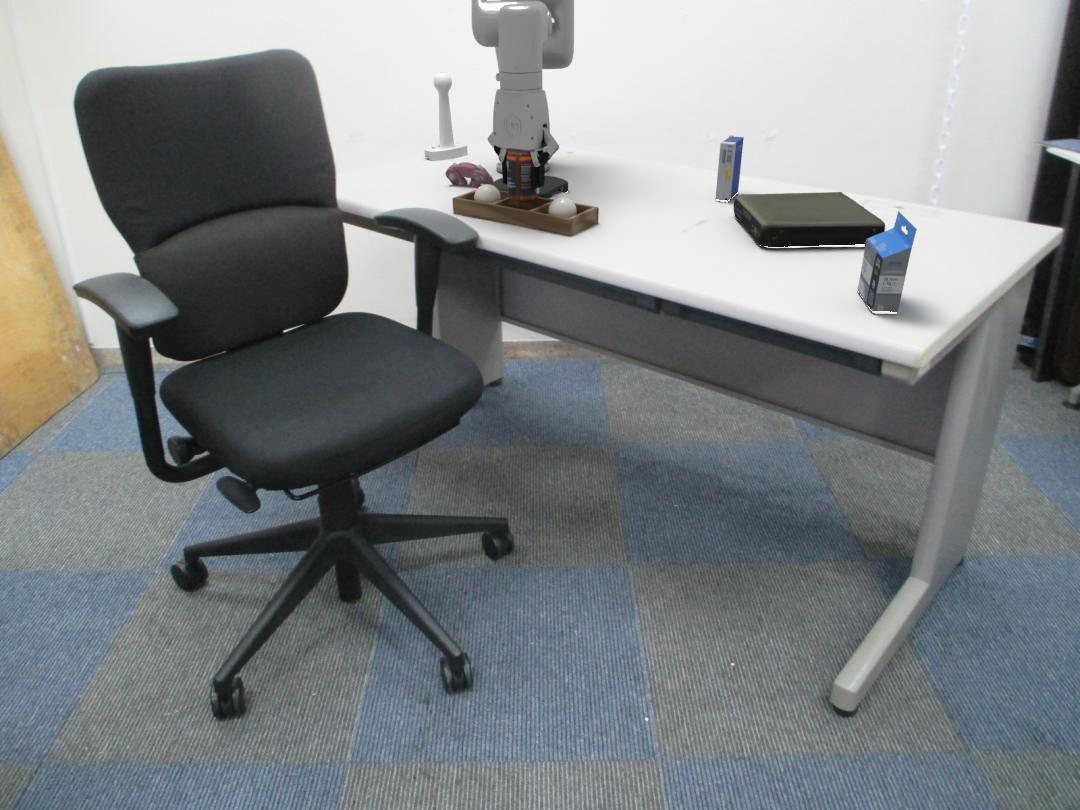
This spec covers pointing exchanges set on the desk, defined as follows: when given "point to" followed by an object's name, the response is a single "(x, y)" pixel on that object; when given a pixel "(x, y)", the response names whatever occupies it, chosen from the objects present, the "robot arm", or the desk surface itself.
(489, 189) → the egg
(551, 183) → the media streaming box
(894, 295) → the grey and blue box
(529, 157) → the supplement bottle
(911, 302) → the desk surface
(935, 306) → the desk surface
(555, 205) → the egg
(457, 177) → the video game controller
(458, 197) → the holder
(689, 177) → the desk surface
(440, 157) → the joystick
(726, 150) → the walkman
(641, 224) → the desk surface
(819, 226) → the network switch
